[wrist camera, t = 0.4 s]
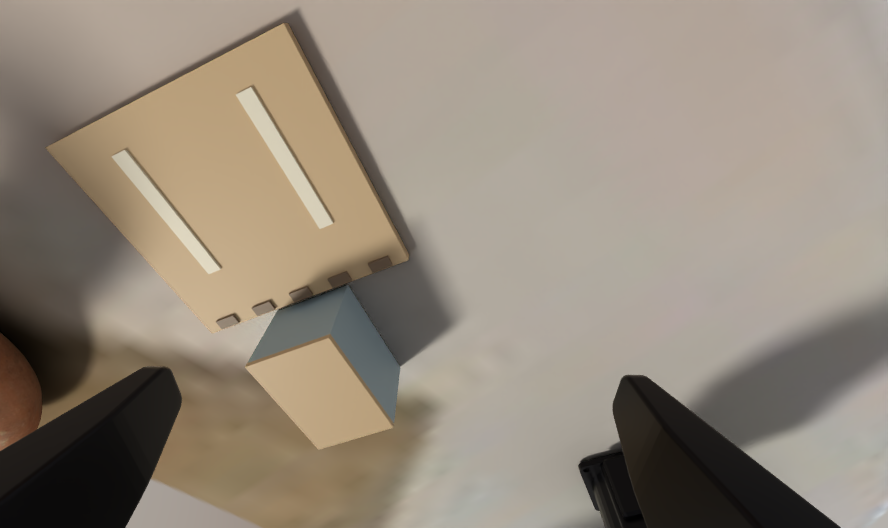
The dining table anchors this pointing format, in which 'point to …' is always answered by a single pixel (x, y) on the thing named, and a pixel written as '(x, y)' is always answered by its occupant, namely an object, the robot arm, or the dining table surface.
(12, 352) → the ceramic jug
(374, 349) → the stub
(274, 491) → the dining table surface
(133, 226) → the pad
